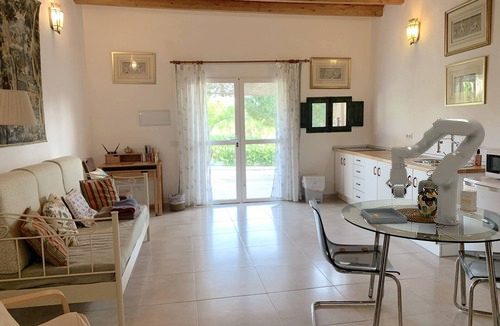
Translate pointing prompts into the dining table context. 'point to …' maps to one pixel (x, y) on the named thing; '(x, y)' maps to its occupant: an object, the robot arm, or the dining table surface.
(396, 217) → the tray
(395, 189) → the silver metal block
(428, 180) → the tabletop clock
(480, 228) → the dining table surface
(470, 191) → the supplement box
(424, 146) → the robot arm
